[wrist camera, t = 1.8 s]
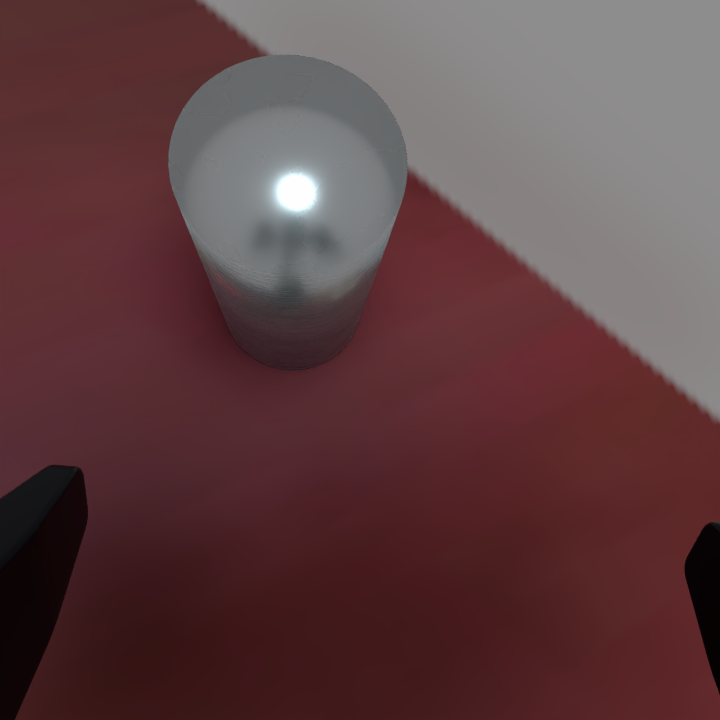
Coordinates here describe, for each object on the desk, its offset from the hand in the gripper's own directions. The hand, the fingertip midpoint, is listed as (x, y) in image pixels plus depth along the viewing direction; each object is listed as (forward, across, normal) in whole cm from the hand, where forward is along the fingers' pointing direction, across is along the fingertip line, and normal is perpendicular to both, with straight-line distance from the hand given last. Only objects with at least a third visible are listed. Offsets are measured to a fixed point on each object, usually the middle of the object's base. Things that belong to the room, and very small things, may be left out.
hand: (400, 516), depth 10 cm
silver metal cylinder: (+15, +2, +4) cm, 16 cm away
